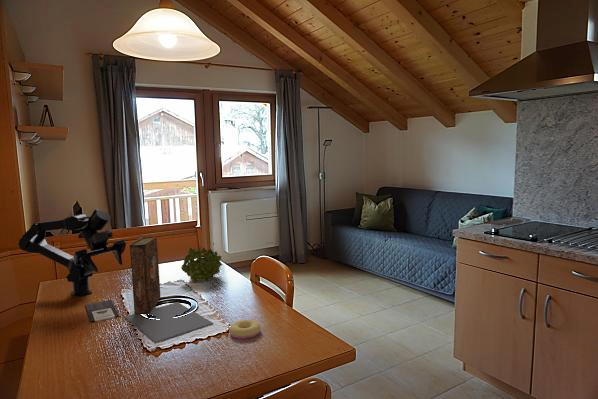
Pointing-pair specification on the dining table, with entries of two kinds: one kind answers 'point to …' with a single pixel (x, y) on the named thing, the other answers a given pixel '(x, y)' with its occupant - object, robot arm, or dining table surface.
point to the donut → (245, 329)
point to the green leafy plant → (201, 264)
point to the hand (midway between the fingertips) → (109, 267)
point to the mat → (168, 322)
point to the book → (145, 274)
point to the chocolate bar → (101, 311)
